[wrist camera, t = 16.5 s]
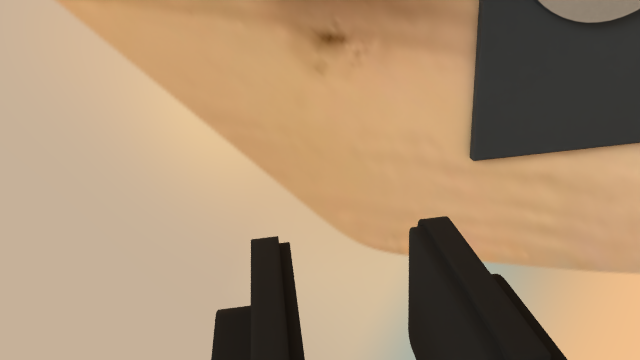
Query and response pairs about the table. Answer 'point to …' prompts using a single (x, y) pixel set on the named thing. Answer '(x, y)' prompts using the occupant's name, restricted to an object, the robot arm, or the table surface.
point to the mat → (552, 82)
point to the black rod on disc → (589, 9)
